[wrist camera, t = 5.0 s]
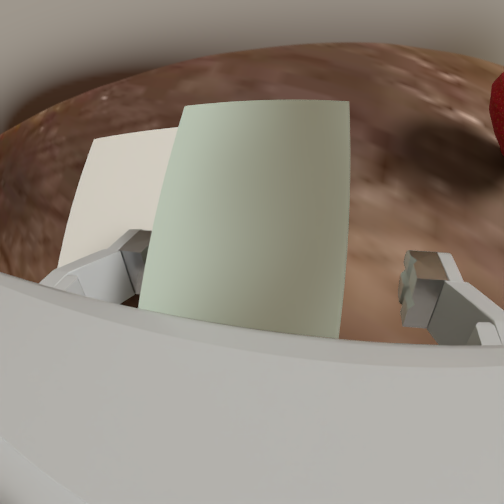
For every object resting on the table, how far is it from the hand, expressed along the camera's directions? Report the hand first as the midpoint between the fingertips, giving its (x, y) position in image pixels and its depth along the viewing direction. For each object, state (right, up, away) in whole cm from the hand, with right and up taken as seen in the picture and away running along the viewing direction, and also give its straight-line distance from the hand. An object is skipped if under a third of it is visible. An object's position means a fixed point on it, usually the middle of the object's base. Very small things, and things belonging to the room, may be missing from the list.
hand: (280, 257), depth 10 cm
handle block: (+2, -1, +7) cm, 8 cm away
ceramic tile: (-10, +3, +11) cm, 16 cm away
